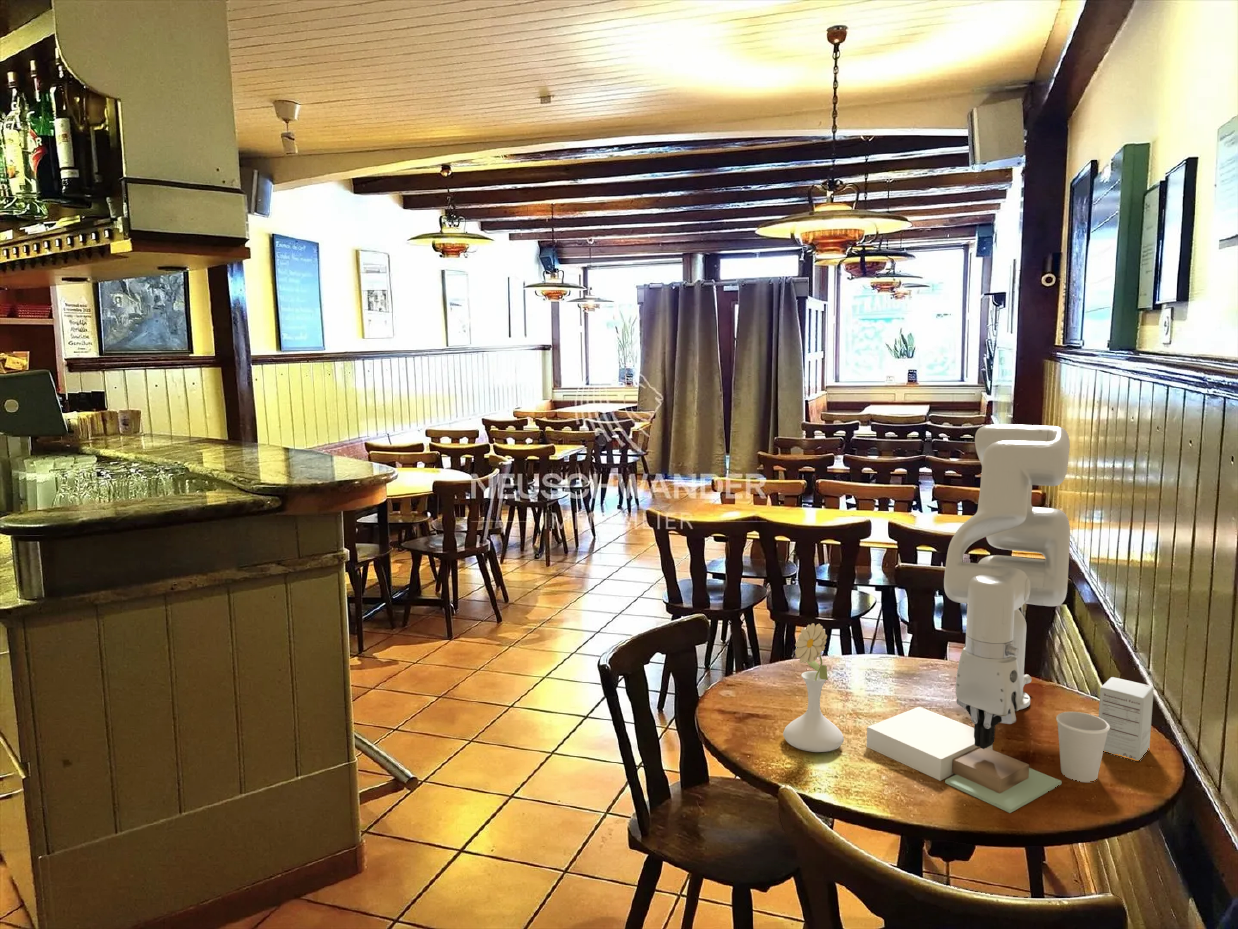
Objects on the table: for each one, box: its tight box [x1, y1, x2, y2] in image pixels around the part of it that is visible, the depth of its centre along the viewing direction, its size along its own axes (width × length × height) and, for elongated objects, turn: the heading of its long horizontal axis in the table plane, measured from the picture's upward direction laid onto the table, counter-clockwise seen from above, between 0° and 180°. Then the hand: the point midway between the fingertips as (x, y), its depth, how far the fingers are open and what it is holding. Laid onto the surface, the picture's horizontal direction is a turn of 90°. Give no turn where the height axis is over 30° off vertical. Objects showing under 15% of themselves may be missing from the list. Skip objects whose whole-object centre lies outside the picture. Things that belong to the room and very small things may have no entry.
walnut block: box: [952, 747, 1030, 794], centre depth 150 cm, size 9×9×2 cm
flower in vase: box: [782, 623, 845, 753], centre depth 161 cm, size 13×11×25 cm
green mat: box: [944, 767, 1062, 814], centre depth 148 cm, size 16×12×1 cm
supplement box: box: [1097, 676, 1155, 761], centre depth 159 cm, size 7×7×13 cm
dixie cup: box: [1055, 711, 1110, 783], centre depth 150 cm, size 8×8×10 cm
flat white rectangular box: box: [866, 706, 994, 782], centre depth 160 cm, size 16×16×4 cm
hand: (983, 745), depth 151 cm, fingers closed
